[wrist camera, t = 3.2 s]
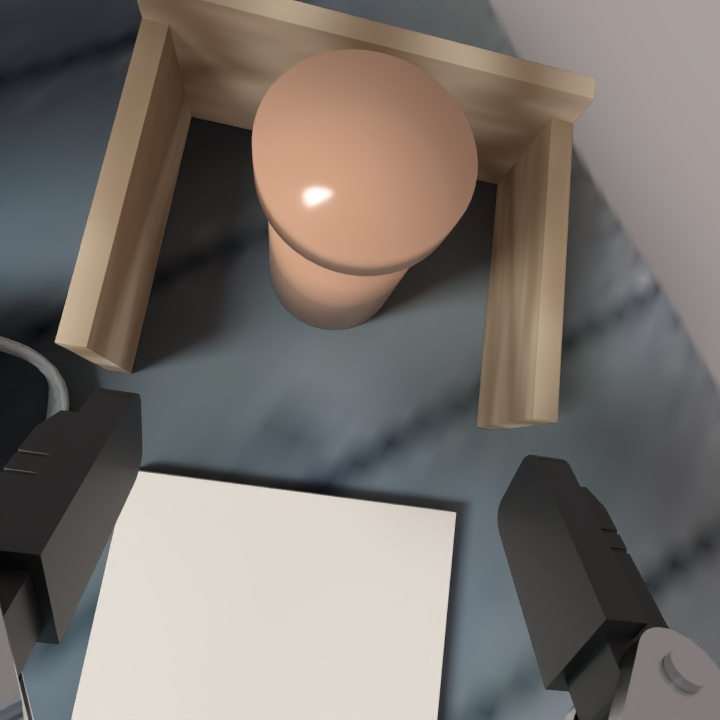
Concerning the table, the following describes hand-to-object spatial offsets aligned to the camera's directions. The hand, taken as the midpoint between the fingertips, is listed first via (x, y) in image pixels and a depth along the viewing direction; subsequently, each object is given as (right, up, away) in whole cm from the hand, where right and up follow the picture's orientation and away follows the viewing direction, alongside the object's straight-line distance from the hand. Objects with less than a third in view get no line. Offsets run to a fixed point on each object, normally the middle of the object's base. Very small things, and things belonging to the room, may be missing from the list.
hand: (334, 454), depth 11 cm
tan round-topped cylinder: (-1, +6, +14) cm, 16 cm away
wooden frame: (-1, +7, +14) cm, 16 cm away
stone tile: (-3, -11, +10) cm, 15 cm away
